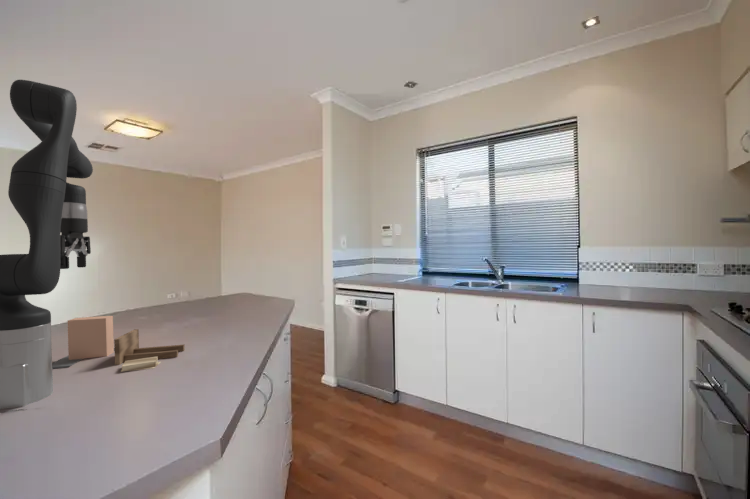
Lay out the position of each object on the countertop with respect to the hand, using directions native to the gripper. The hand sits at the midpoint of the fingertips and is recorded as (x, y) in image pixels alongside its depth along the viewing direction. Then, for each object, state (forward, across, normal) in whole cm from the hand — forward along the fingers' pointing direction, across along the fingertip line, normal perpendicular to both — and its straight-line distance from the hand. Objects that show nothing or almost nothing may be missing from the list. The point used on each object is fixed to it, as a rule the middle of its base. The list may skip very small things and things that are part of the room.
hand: (73, 268), depth 106 cm
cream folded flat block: (+29, -21, -27) cm, 45 cm away
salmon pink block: (+28, -5, -7) cm, 29 cm away
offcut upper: (+27, -21, -27) cm, 44 cm away
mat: (+28, -5, -7) cm, 29 cm away
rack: (+28, -11, -27) cm, 40 cm away
